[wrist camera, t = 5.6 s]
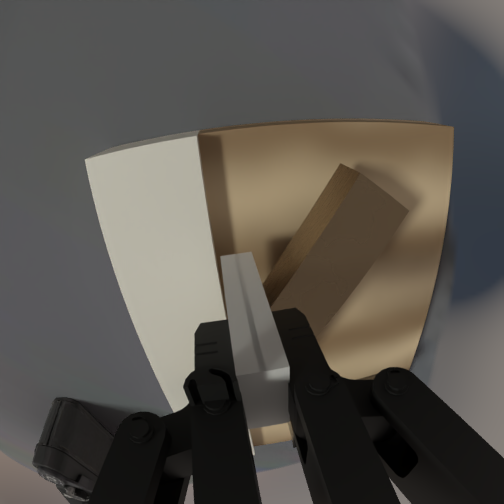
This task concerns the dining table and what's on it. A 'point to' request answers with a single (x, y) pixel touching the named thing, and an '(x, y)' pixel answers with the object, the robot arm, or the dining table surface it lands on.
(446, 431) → the robot arm
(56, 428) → the camera
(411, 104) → the dining table surface
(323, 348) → the door slab
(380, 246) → the swing bar
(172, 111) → the dining table surface
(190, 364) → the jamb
